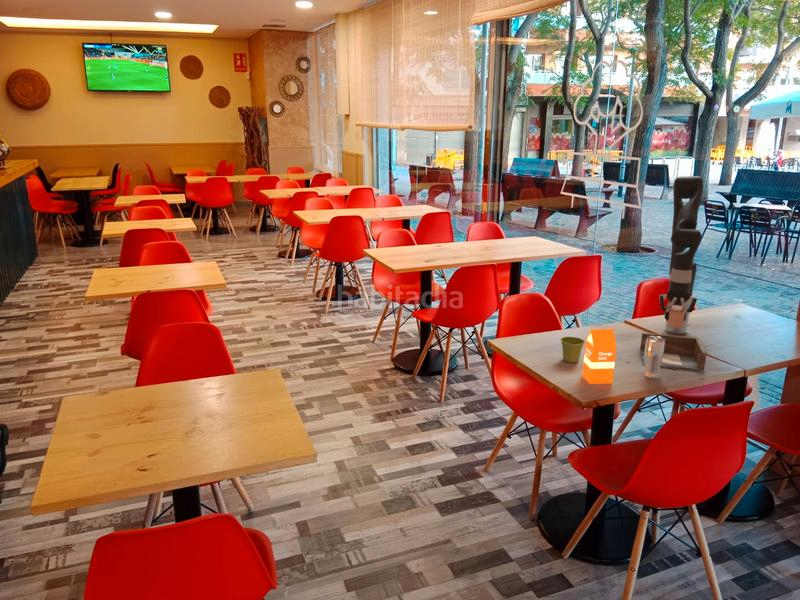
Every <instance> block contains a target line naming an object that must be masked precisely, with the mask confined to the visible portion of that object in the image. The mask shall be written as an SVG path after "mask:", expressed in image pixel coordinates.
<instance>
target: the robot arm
mask: <svg viewBox="0 0 800 600" xmlns="http://www.w3.org/2000/svg"><path fill="white" fill-rule="evenodd" d="M703 191H704V179H703V178H702V176H697V175H695V176H694V175H693V176H689V175H688V176H687V175H685V176H677V177H676V178H675V179H674V181H673V192H672V193H673V218H672V226H671V227H672V228H671V229H672V230H671V233H672V234H671V236H670V243H671V254H670V255H671V256H670V263H669V273H668V274H669V283H668V290H667V293H666V294H661V293H660V294H659V303H660V310H661V311H664V320H665V325H664V327H665V328H664V330H665V331H666V332H667V333H670V334H677V335H684V334H687V331H688V324H689V318H690V313H692V312H693V311H694V309H695V306H696V303H697V301H698V300H697V297H696V296H693V291H694V285H695V284H694V283H695V278H696V275H697V263H696V262H694V258H695V255H696V252H697V250H698V248H699V247H700V244H701V241H702V238H703V236H702V232H701V231H700V230H698V229H697V226H698V213H699V209H700V205H701V201H702V197H703ZM683 200H689V201H687V203H685V204H684V202H683ZM688 248H689V249H688ZM686 249H688V250H686ZM685 250H686V251H685ZM666 299H668V303H667V305H666V306H665V300H666ZM673 305H674V306H682V309H683V310H684V313H685V315H684V322H683V328H679V327H669V325H668V323H667V321H668V319H669V311H670V309H671V308H672V306H673Z"/></svg>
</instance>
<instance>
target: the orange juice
mask: <svg viewBox="0 0 800 600" xmlns="http://www.w3.org/2000/svg"><path fill="white" fill-rule="evenodd" d="M615 337H616V336H615V330H614V329H613V328H603V329H602V328H599V329H596V328H594V329H590V331H589V332H588V334H587V336H586V339H585V343H584V345H585V346H584V355H583V362H582V363H583V364H582V365H583V366H582V374H581V376H582V377H583V378H584V379H585V381H586V382H587V381H588V382H587V383H588V384H589V385H595V384H596V385H597V384H599V385H600V384H601V385H603V384H613V381H614V380H613V379H614V373H615V372H614V370H615V364H616V363H615V361H616V354H617V342H616V338H615Z"/></svg>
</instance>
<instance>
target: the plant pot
mask: <svg viewBox="0 0 800 600" xmlns="http://www.w3.org/2000/svg"><path fill="white" fill-rule="evenodd" d="M560 342H561V346H562V347H561V348H562V360H563V361H564V362H567V363H569V362H570V364H576V363H577V362H579V361H580V357H581V353H582V349H583V346H584V345H585V343H586V340H584V339H582V338H580V337H575V336H564V337H562V338H561V337H560Z"/></svg>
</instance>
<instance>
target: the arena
mask: <svg viewBox="0 0 800 600" xmlns="http://www.w3.org/2000/svg"><path fill="white" fill-rule="evenodd" d="M648 336H658V337H662V338H664V339H665V351H664V356H663V359H662V362H661V365H660V368H661V367H662V368H663V369H673V370H680V369H681V371H682V370H683V371H691V372H692V371H693V372H698V371H703V372H702V373H704V372H705V366H706V361H707V358H706V357H707V351H706V349H705V347H704V345H703V343H702V341H701V339H700V338H699V337H694V336H683V335H673V334H661V333H651V332H643V331H642V333H641V340H640V347H639V348H640V349H639V352H640V356H641V362H642V364H643V366H644V367H645V344H646V340H647V337H648ZM662 368H661V369H662Z"/></svg>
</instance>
